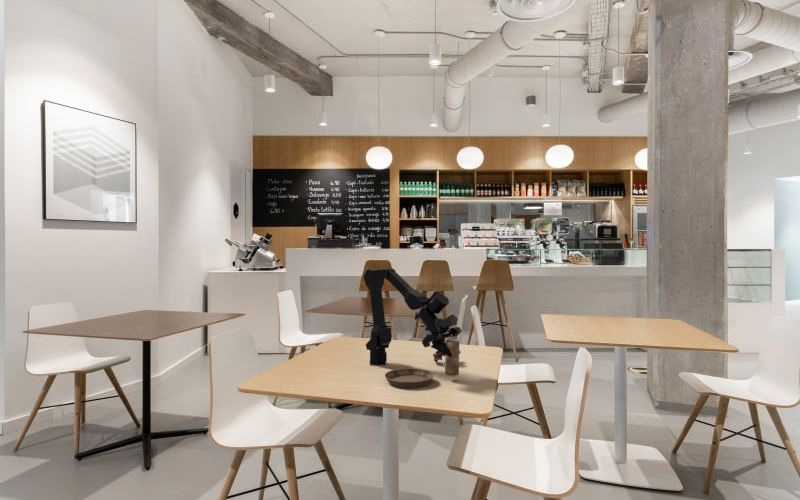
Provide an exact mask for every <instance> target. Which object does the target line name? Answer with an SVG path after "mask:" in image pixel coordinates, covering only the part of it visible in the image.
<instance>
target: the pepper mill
mask: <svg viewBox="0 0 800 500" xmlns="http://www.w3.org/2000/svg"><path fill="white" fill-rule="evenodd" d="M445 343H446V345H447V347H448V348H449V350H450V352H451V354H452V356H451V357H449V356H447V355H445V356H444V357H445V360H444V361H445V362H444V363H445V365H444V374H445V375H446V376H450V377H456V376H459V375H460V354H459V350H460V341H459V340H458V336H457V337H455V336H449V337H448V340H445Z"/></svg>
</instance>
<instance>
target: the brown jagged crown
mask: <svg viewBox="0 0 800 500" xmlns="http://www.w3.org/2000/svg"><path fill="white" fill-rule="evenodd" d="M432 356H433V361H434V362H435V363H436V364H437V363H438V362H439V361H443V357H445V354H444V353H442V352H440V351H438V350H436V351H435V352H434V353H433V354H432Z"/></svg>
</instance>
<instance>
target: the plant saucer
mask: <svg viewBox="0 0 800 500" xmlns="http://www.w3.org/2000/svg"><path fill="white" fill-rule="evenodd" d="M384 378H385V379H386V381H388V383H389V384H390V385H391V386H394V387H396V388H405V389H407V388H408V389H411V388H412V389H413V388H414V389H415V388H420V387H424V386H425V387H426V385H428V384H429V383H430V382H431V381H432V380H433V379H434V373H433V372H431V371H429V370H427V369H422V368H397V369H393V370H389V371H387V372H386V373H385V374H384Z"/></svg>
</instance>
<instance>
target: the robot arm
mask: <svg viewBox="0 0 800 500" xmlns="http://www.w3.org/2000/svg"><path fill="white" fill-rule="evenodd" d="M363 280H364V284H365V286H366V287H367V289H368V290H369V295H370V304H371V313H372V314H371V315H372V322H373V323H372V324H373V326H372V329H371V332H370V339H369V340H368V341H367V342H366V343H365V347H366V348H365V349H366V350H367V351H369V366H386V363H387V357H388V356H387V351H386V349H388V348H389V346H390V343H391V342H392V338H393V334H392V328H391V327H388V325H387V324H386V317H385V310H384V299H383V293H382V292H383V291H382V289H383V287H384V285H385V280H386V281H388V283H390V284H391V286H393V287H394V289H396V290H397V292H399V293H400V295H401V296H402V297H403V300H404V303H405V304H406V305H407V307H408V309H410V310H411V311H416V310H418V312H417V311H416V312H415V313H414V314H415V315H414V320H416V321H417V320H421V321H422V323H423V324H424V326H425V328H424V330H425V332H428V333H427V334H426V335H425V336H424V337H423V338H422V340H421V345H423V347H424V348H429V347H430V348H432V349H434V350H436V351H440V352H442V353H444V354H445V355H447V356H449V357H451V356H452V354H451V352H450V350H449V348H448V347H447V345H446V340H448V337H449V336H455V337H457V338H458V336H459V335H460V334H461V333H462V332H463V331H462V329H461V327H459V326H456V325H458V320H459V319H458V317H457V316H455V314H451V315H448V317H445V318H442V317H438V316H437V314H441V312H442V311H444V309H445V308H446V307H447V306H448V305H449V303H450V300H449V298H448V297H447V296H446V295H445V294H443V293H441V292H440V291H439V290H435V291H434V292H433V293H432V295H431V296H430V297H427V296H426V295H425V294H424V293H422V292H421V291H420V290H417V289H414V287H412V286H411V285H410V284H409V283H408V282H407V281H405V279H403V278H402V277H401V276H400V274H398V272H397V271H396V269H395V268H393V267H390V268H389V267H388V268H387V267H386V268H384V269H380V268H369V269H366V270H365V272H364V273H363ZM452 326H454V327H452ZM460 354H461V350H460V349H459V355H460Z"/></svg>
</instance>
